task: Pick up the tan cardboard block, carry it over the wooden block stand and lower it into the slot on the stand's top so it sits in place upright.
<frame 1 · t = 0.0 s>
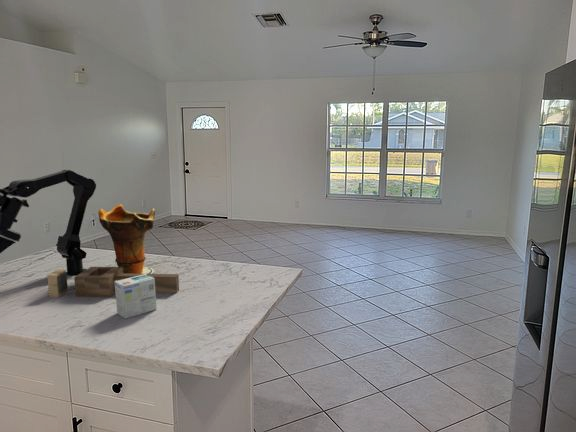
light bulb box: (137, 312, 135), on the counter
tan cardboard block: (59, 294, 149), on the counter
decorative vase: (131, 273, 173), on the counter
wooden block stand: (101, 290, 153), on the counter
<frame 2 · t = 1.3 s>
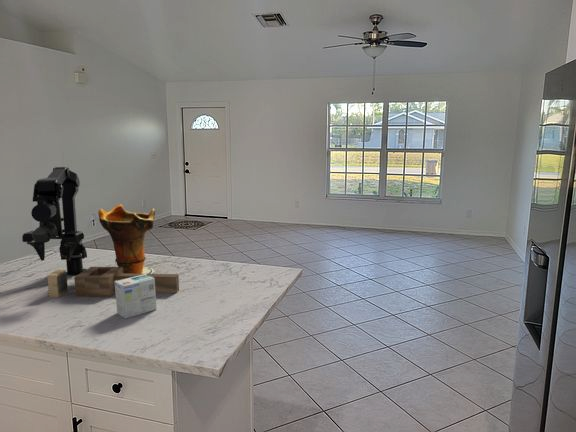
hand: (55, 260, 147), 12 cm above the counter, tool pointing down, fingers open, 9 cm apart
nothing on the counter moved.
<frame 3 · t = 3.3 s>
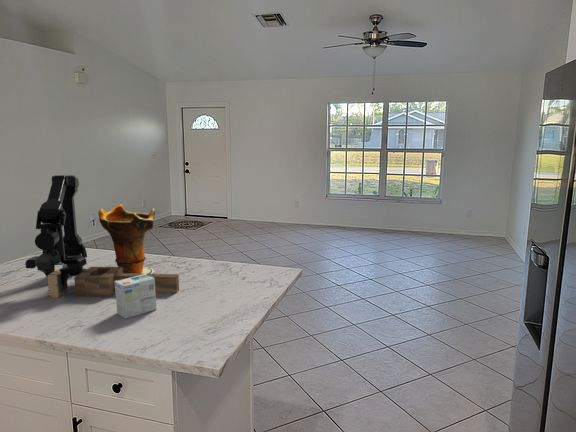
hand: (58, 285, 149), 3 cm above the counter, tool pointing down, fingers closed on tan cardboard block, 3 cm apart
tan cardboard block: (59, 294, 149), on the counter, touching gripper
everything else where it was.
when the fingers open (7 cm above the counter, at t = 7.9 s): tan cardboard block drops 1 cm, resting on wooden block stand.
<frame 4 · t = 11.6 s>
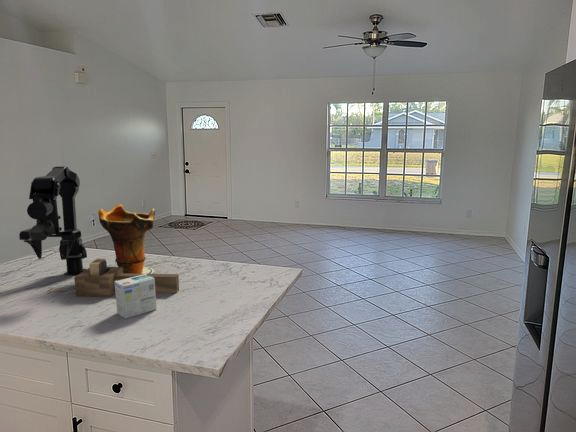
hand: (53, 258, 147), 13 cm above the counter, tool pointing down, fingers open, 9 cm apart
tan cardboard block: (100, 282, 152), point 3 cm above the counter, touching wooden block stand
everything else where it was.
at the end: tan cardboard block 0.1 cm off-centre on the wooden block stand, point 3.0 cm above the wooden block stand's base; tan cardboard block tilted 0°; the gripper is holding nothing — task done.
